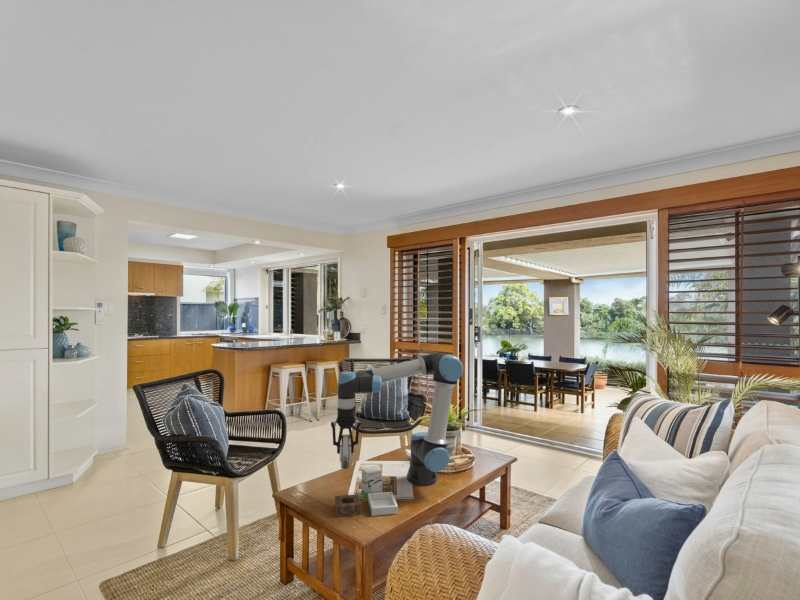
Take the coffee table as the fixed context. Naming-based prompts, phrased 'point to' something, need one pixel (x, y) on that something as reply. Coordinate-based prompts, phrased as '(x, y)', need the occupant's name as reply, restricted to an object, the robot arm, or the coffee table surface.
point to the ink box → (371, 480)
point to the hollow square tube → (347, 505)
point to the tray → (382, 503)
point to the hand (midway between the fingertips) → (345, 460)
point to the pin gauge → (345, 451)
